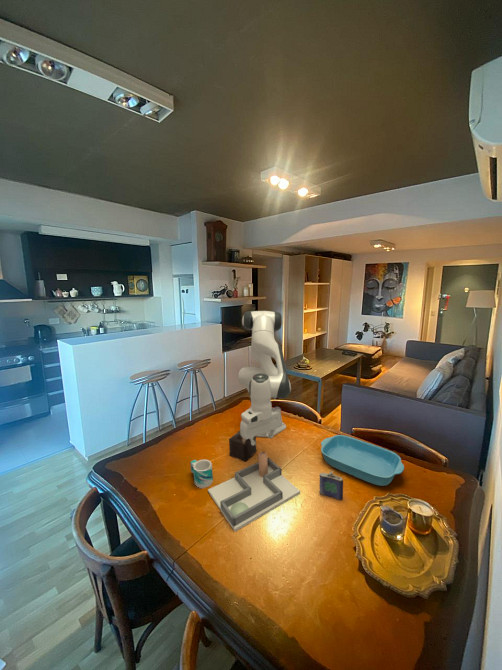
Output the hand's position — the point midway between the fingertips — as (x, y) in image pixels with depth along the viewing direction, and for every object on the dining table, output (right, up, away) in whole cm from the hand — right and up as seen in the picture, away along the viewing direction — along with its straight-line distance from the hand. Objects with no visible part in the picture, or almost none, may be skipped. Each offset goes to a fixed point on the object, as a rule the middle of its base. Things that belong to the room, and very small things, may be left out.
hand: (262, 441), depth 120 cm
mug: (-28, -19, +3) cm, 34 cm away
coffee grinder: (-7, -14, +23) cm, 28 cm away
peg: (+1, -16, +3) cm, 17 cm away
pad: (-9, -20, -16) cm, 27 cm away
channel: (-4, -19, -6) cm, 21 cm away
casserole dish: (+46, -15, +8) cm, 49 cm away
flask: (+28, -19, -9) cm, 35 cm away
